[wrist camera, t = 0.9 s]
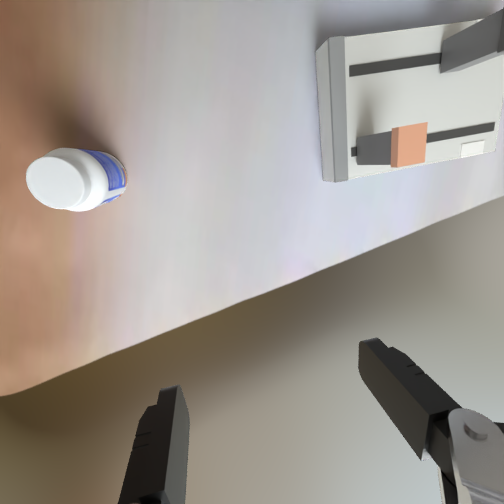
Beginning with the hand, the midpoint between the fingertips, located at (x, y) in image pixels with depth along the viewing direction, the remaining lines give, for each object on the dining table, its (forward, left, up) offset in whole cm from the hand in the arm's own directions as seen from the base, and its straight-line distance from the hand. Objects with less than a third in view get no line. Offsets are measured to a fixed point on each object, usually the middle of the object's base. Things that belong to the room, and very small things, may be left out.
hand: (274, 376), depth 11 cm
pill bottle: (-10, -13, -24) cm, 29 cm away
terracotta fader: (-8, +17, -20) cm, 28 cm away
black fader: (-16, +27, -20) cm, 38 cm away
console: (-12, +24, -24) cm, 36 cm away
